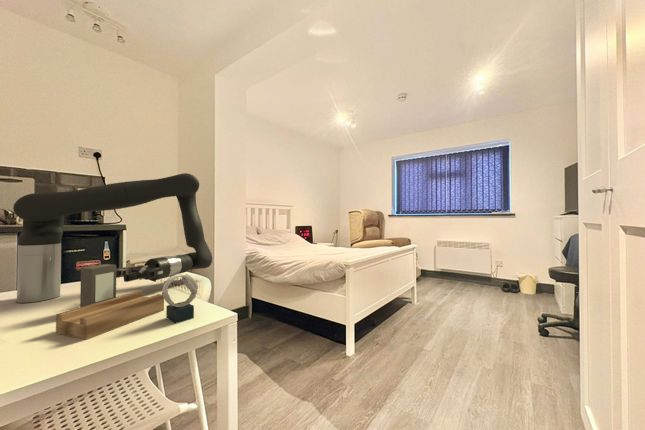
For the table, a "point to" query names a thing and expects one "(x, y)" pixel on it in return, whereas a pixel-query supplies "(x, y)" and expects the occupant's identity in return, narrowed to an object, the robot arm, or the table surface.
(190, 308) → the watch
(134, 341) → the table surface
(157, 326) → the table surface
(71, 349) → the table surface
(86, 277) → the tall taupe pillar block
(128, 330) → the table surface
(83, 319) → the wooden channel tray
